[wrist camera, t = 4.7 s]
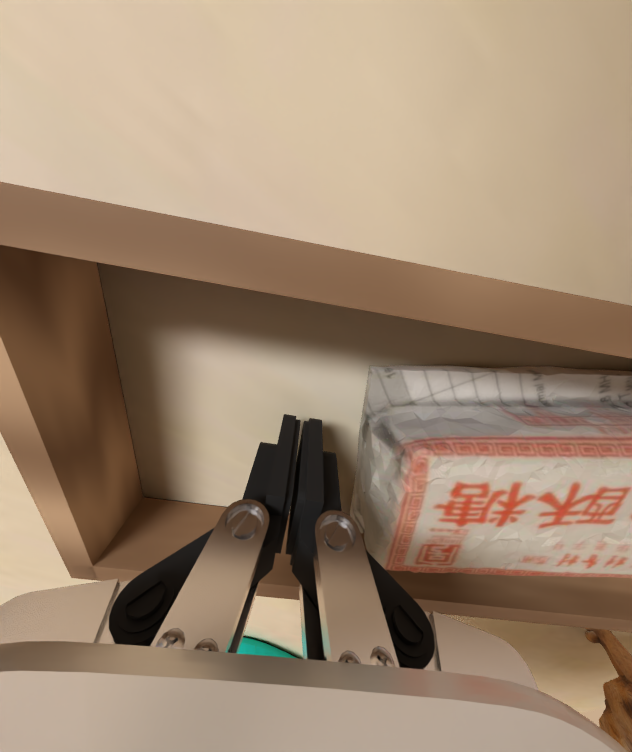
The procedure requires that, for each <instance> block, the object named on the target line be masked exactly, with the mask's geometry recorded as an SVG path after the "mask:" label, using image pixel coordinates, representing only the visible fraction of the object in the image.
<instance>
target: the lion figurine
mask: <svg viewBox="0 0 632 752" xmlns="http://www.w3.org/2000/svg"><path fill="white" fill-rule="evenodd" d="M586 629H587V630H592V631H588V632H587V633H585V635H586V637H587V639H588V640H589V641H591V642H593V643H600V644H601V645H602V646H603V647H604V649H605V650H606V652H607V654H608V656H609V658H610V660H611V662H612V664H613V666H614V668H615V669H616V671H617V673H618V675H619V677H618V678H615V679H613V680H610V681H609V682H606V683H605V684H604V685H603V688H604V694H605V698H606V699H605V705H606V709H605V710H604V712H603V714H602V716H601V718H600V719H599V724H600V728H601V729H602V730H603V731H605V732H606V733H607V734H609V735H610V736H611V737H612V738H613V739H615V740H616V741H617V742H618V743H619V744H620V745H621V746H623V747H624V748H625V749H626V750H627V751H628V752H632V656H631V654H630V653H629V652H628V651H627V650H626V649H625V648H624V647H623V645H622V644H621V643H620V642H619V641H618V640H617V639H616V637H615V636H614V635H613V634H612V633H611V631H610V630H604V629H594V628H586Z"/></svg>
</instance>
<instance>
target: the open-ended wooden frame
mask: <svg viewBox="0 0 632 752" xmlns="http://www.w3.org/2000/svg"><path fill="white" fill-rule="evenodd" d="M97 262H99V263H105V264H110V265H116V266H121V267H127V268H133V269H138V270H144V271H149V272H155V273H160V274H166V275H171V276H177V277H182V278H188V279H193V280H199V281H204V282H210V283H216V284H221V285H227V286H232V287H238V288H243V289H249V290H254V291H260V292H265V293H271V294H276V295H282V296H288V297H293V298H299V299H304V300H310V301H315V302H321V303H326V304H332V305H337V306H343V307H348V308H354V309H360V310H365V311H371V312H376V313H382V314H387V315H393V316H398V317H404V318H409V319H415V320H420V321H426V322H432V323H437V324H443V325H448V326H454V327H459V328H465V329H470V330H476V331H481V332H487V333H492V334H498V335H504V336H509V337H515V338H520V339H526V340H531V341H537V342H542V343H548V344H553V345H559V346H564V347H570V348H575V349H581V350H587V351H592V352H598V353H603V354H609V355H614V356H620V357H625V358H631V359H632V306H629V305H624V304H619V303H614V302H609V301H604V300H599V299H594V298H589V297H583V296H578V295H573V294H568V293H563V292H558V291H553V290H548V289H543V288H538V287H533V286H527V285H522V284H517V283H512V282H507V281H502V280H497V279H492V278H487V277H482V276H477V275H472V274H466V273H461V272H456V271H451V270H446V269H441V268H436V267H431V266H426V265H421V264H416V263H411V262H405V261H400V260H395V259H390V258H385V257H380V256H375V255H370V254H365V253H360V252H355V251H350V250H344V249H339V248H334V247H329V246H324V245H319V244H314V243H309V242H304V241H299V240H294V239H289V238H283V237H278V236H273V235H268V234H263V233H258V232H253V231H248V230H243V229H238V228H233V227H228V226H222V225H217V224H212V223H207V222H202V221H197V220H192V219H187V218H182V217H177V216H172V215H167V214H161V213H156V212H151V211H146V210H141V209H136V208H131V207H126V206H121V205H116V204H111V203H106V202H100V201H95V200H90V199H85V198H80V197H75V196H70V195H65V194H60V193H55V192H50V191H44V190H39V189H34V188H29V187H24V186H19V185H14V184H9V183H4V182H0V432H1V434H2V436H3V438H4V440H5V443H6V445H7V447H8V449H9V451H10V453H11V455H12V457H13V459H14V461H15V463H16V465H17V467H18V469H19V471H20V473H21V475H22V477H23V479H24V481H25V484H26V486H27V488H28V490H29V492H30V494H31V496H32V498H33V500H34V502H35V504H36V506H37V508H38V510H39V512H40V514H41V516H42V518H43V520H44V523H45V525H46V527H47V529H48V531H49V533H50V535H51V537H52V539H53V541H54V543H55V545H56V547H57V549H58V551H59V553H60V555H61V557H62V559H63V561H64V564H65V566H66V568H67V570H68V572H69V574H70V576H71V578H78V579H89V580H99V581H107V580H114V579H119V582H124V581H130V580H133V579H134V578H135V577H137V576H138V575H139V574H141V573H143V572H144V571H146V570H147V569H149V568H151V567H152V566H154V565H155V564H157V563H159V562H160V561H162V560H163V559H165V558H167V557H168V556H170V555H171V554H173V553H175V552H176V551H178V550H179V549H181V548H183V547H184V546H186V545H187V544H189V543H191V542H192V541H194V540H195V539H197V538H199V537H200V536H202V535H203V534H205V533H207V532H208V531H210V530H211V529H213V528H215V526H216V524H217V523H218V521H219V519H220V517H221V515H222V514H223V512H224V511H225V510H226V508H227V507H220V506H212V505H203V504H195V503H187V502H178V501H170V500H162V499H154V498H145V497H143V494H142V489H141V484H140V479H139V474H138V469H137V464H136V459H135V454H134V449H133V444H132V439H131V434H130V429H129V424H128V419H127V413H126V408H125V403H124V398H123V393H122V388H121V383H120V378H119V373H118V368H117V363H116V358H115V353H114V348H113V343H112V338H111V333H110V327H109V322H108V317H107V312H106V307H105V302H104V297H103V292H102V287H101V282H100V277H99V272H98V267H97ZM289 516H290V515H289ZM289 516H288V520H287V525H286V530H285V535H284V540H283V545H282V550H281V554H279V553H275V559H274V564H273V569H272V570H271V571H270V572H269V573H268V574H267V575H266V576H264V577H263V578H262V579H261V580H260V583H259V587H258V590H257V593H256V596H264V597H274V598H285V599H295V600H300V597H299V581H298V580H297V578H296V577H295V575H294V574H293V573H292V565H290V560H291V555H288V554H286V543H287V534H288V525H289ZM360 533H361V532H360ZM361 536H362V540H363V543H364V547H365V549H366V545H365V541H364V533H362V534H361ZM366 550H367V549H366ZM386 571H387V572H388V573H389V574H390V575H391V576H392V577H393V578H394V579H395V581H396V582H397V583H398V584H399V585H400V586H401V587H402V588H403V589H404V590H405V591H406V592H407V593H408V594H409V595H410V596H411V597H412V598H413V599H414V600H415V601H416V602H417V603H418V605H419V606H420V607H421V608H422V610H423V611H425V612H429V613H432V611H435V612H437V613H440V614H449V615H460V616H470V617H480V618H491V619H501V620H511V621H522V622H532V623H542V624H553V625H563V626H573V627H583V628H594V629H604V630H614V631H625V632H632V578H618V577H565V576H509V575H490V574H480V575H479V574H465V573H461V572H459V573H450V572H448V573H423V572H418V573H413V572H411V571H392V570H386Z"/></svg>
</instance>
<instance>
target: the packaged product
mask: <svg viewBox="0 0 632 752" xmlns="http://www.w3.org/2000/svg"><path fill="white" fill-rule="evenodd" d="M350 516H351V518H352V519H353V520H354V521H355V522H356V524H357V526H358V528H359V530H360V532H361V534H362V533H364V541H365V545H366V549H367V551H368V552H369V554H370V555H371V556H372V557H373V558H374V559H375V560H376V561H377V562H378V563H379V564H380V565H381V566H382V567H383V568H384V569H385V570H392V571H411V572H413V573H418V572H423V573H448V572H450V573H459V572H461V573H465V574H479V575H480V574H490V575H509V576H565V577H618V578H632V371H619V370H591V369H573V368H563V367H552V366H539V367H532V366H520V367H505V368H479V367H464V366H370V368H369V374H368V380H367V386H366V393H365V399H364V405H363V411H362V418H361V424H360V430H359V443H358V460H357V468H356V473H355V480H354V487H353V494H352V501H351V509H350Z"/></svg>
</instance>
